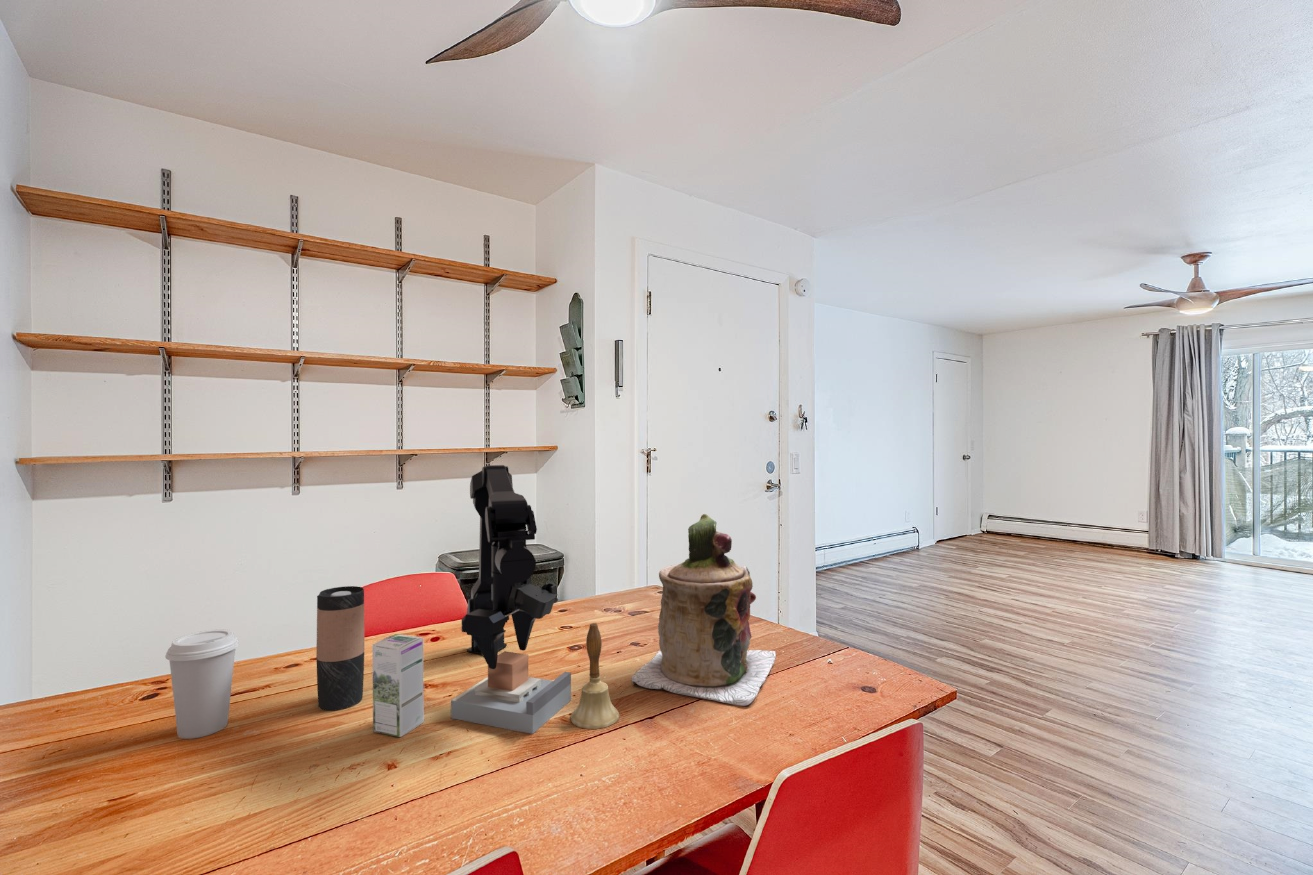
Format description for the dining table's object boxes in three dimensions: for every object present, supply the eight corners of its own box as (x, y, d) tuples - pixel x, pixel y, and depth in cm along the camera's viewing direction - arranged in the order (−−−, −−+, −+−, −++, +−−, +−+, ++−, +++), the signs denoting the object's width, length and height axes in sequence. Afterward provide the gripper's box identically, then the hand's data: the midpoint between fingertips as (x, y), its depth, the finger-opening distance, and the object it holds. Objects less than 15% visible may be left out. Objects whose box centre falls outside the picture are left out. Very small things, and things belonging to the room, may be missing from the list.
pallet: (474, 695, 101) (474, 661, 101) (498, 679, 107) (498, 648, 107) (519, 702, 98) (519, 668, 98) (541, 686, 104) (541, 653, 104)
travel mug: (373, 697, 107) (374, 588, 107) (335, 715, 100) (335, 598, 100) (345, 689, 110) (345, 584, 110) (306, 706, 103) (306, 593, 103)
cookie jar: (626, 687, 111) (626, 520, 111) (671, 645, 134) (671, 507, 134) (753, 710, 102) (753, 527, 102) (778, 660, 125) (778, 511, 125)
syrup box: (425, 722, 97) (425, 635, 97) (399, 739, 92) (399, 647, 92) (398, 716, 99) (398, 632, 99) (370, 733, 94) (370, 643, 94)
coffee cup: (156, 749, 89) (157, 651, 89) (174, 722, 97) (174, 633, 97) (233, 734, 93) (233, 641, 93) (243, 710, 102) (243, 624, 102)
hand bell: (592, 734, 93) (592, 635, 93) (560, 718, 99) (560, 624, 99) (629, 716, 99) (629, 623, 99) (597, 702, 105) (597, 613, 105)
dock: (450, 718, 99) (450, 688, 99) (496, 687, 111) (496, 661, 111) (532, 733, 93) (532, 702, 93) (570, 699, 106) (570, 672, 106)
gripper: (518, 586, 91) (518, 686, 91) (573, 563, 109) (573, 646, 108) (459, 580, 95) (459, 676, 95) (522, 559, 112) (522, 640, 112)
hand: (508, 658), depth 102 cm, fingers open, 9 cm apart
